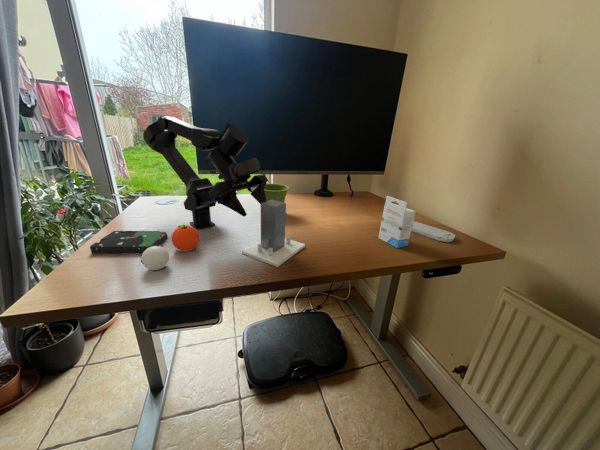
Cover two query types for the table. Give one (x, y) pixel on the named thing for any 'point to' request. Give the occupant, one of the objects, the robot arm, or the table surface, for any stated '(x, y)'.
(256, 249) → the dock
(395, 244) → the ink box
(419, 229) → the game console
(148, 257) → the white egg
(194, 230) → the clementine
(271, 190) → the plant pot
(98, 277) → the table surface
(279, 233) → the grey metal block
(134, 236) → the disk drive
